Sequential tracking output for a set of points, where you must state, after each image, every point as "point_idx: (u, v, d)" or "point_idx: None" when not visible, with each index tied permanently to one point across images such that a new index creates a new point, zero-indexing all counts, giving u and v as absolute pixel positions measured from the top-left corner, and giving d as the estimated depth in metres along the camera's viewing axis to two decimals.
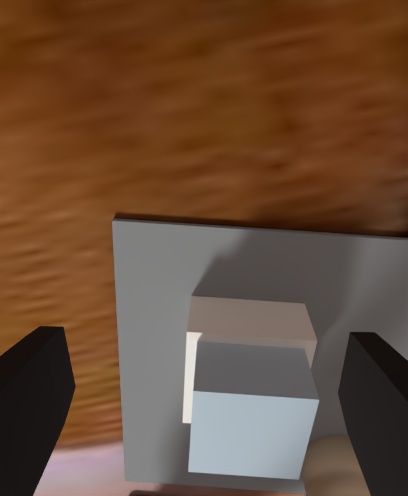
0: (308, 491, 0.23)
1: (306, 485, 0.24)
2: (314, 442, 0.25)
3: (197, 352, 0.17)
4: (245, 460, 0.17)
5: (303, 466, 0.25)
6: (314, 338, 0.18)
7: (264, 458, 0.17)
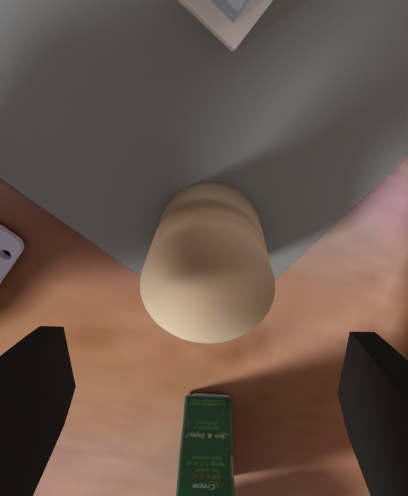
0: (166, 217, 0.15)
1: (166, 215, 0.15)
2: (204, 182, 0.16)
3: None
4: None
5: (171, 202, 0.16)
6: None
7: None
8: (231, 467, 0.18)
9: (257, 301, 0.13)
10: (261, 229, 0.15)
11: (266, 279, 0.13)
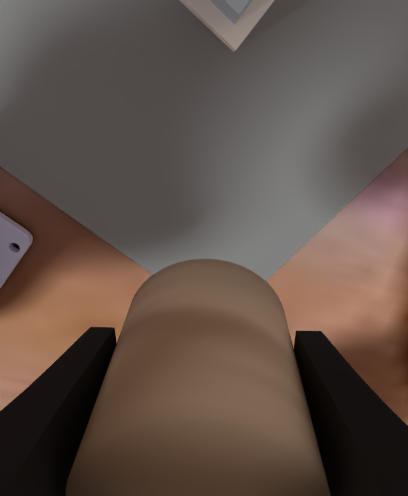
0: (128, 339, 0.08)
1: (129, 329, 0.09)
2: (197, 261, 0.10)
3: None
4: None
5: (142, 297, 0.10)
6: None
7: None
8: None
9: None
10: (293, 350, 0.09)
11: None
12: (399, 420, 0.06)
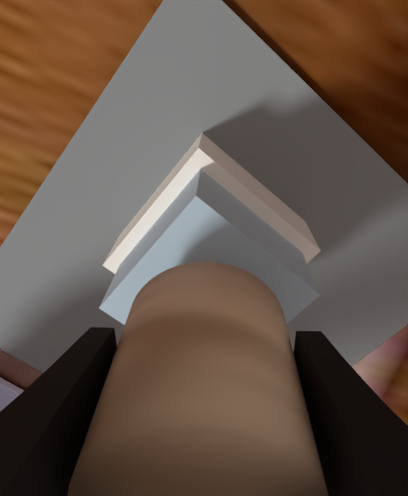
0: (128, 344, 0.08)
1: (129, 333, 0.09)
2: (197, 264, 0.10)
3: (200, 175, 0.13)
4: None
5: (142, 301, 0.10)
6: (318, 247, 0.15)
7: None
8: None
9: None
10: (292, 354, 0.09)
11: None
12: (399, 420, 0.06)
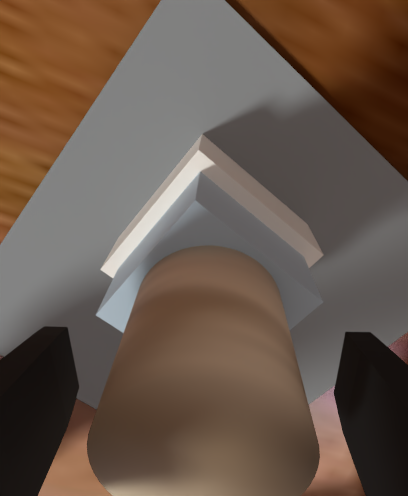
0: (139, 315, 0.09)
1: (139, 307, 0.10)
2: (200, 247, 0.11)
3: (200, 178, 0.13)
4: None
5: (150, 280, 0.11)
6: (320, 251, 0.15)
7: None
8: None
9: (287, 476, 0.08)
10: (287, 326, 0.10)
11: (305, 447, 0.07)
12: None
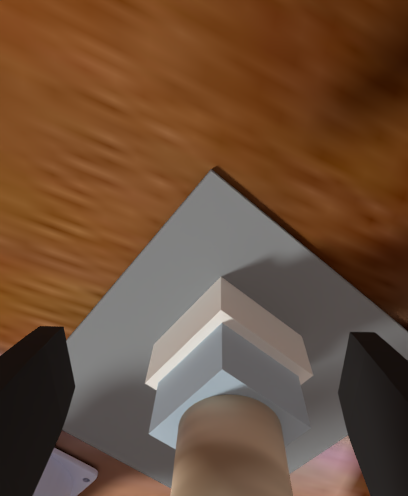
0: (188, 460, 0.14)
1: (187, 451, 0.14)
2: (225, 397, 0.16)
3: (222, 333, 0.17)
4: None
5: (191, 423, 0.15)
6: (311, 372, 0.19)
7: None
8: None
9: None
10: (285, 461, 0.15)
11: None
12: None
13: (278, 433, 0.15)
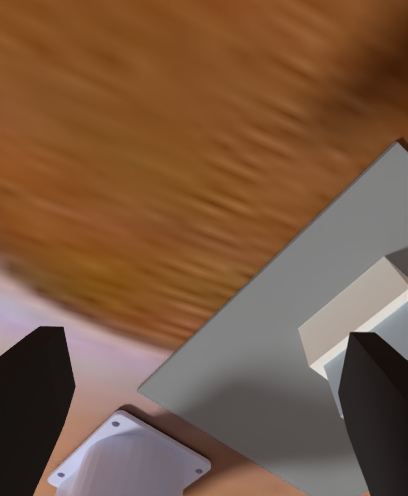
0: None
1: None
2: None
3: None
4: None
5: None
6: None
7: None
8: None
9: None
10: None
11: None
12: None
13: None
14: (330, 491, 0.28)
